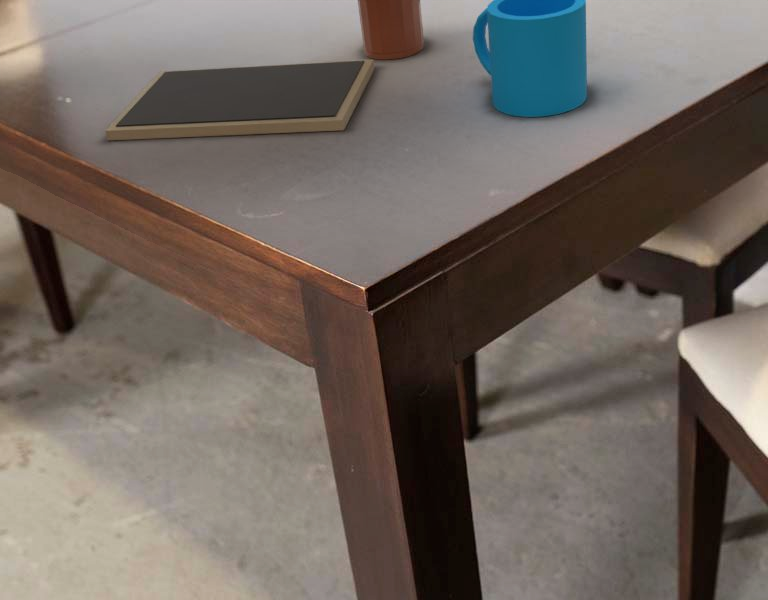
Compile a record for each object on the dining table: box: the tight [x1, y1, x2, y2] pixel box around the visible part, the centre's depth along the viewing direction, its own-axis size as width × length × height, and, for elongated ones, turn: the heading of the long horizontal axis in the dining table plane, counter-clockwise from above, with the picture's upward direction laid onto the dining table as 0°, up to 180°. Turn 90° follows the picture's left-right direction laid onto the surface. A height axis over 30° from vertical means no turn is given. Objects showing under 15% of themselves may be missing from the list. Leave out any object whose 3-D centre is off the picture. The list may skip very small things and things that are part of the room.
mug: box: [472, 0, 588, 118], centre depth 95 cm, size 12×8×8 cm
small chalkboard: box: [105, 58, 376, 141], centre depth 103 cm, size 22×15×1 cm
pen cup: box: [357, 0, 425, 61], centre depth 109 cm, size 6×6×8 cm
